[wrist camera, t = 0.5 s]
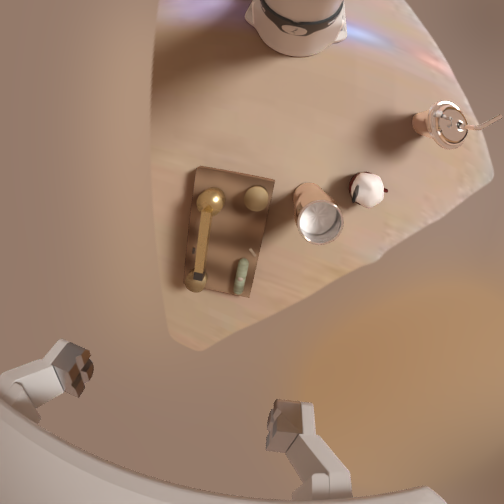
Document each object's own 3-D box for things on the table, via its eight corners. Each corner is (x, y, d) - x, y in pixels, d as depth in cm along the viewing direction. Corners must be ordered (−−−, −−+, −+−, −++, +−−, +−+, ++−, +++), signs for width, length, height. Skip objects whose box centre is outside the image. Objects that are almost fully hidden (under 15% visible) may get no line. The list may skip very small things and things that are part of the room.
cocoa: (384, 181, 50) (414, 195, 38) (370, 209, 52) (396, 229, 41) (344, 158, 48) (367, 165, 37) (329, 188, 51) (348, 203, 40)
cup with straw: (400, 101, 42) (459, 93, 24) (438, 105, 41) (501, 103, 23) (405, 144, 46) (464, 156, 27) (441, 145, 44) (505, 159, 26)
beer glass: (285, 209, 53) (288, 237, 39) (297, 174, 50) (306, 191, 37) (319, 220, 54) (333, 252, 40) (332, 187, 51) (352, 208, 37)
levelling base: (200, 165, 51) (191, 170, 46) (274, 179, 51) (274, 185, 46) (187, 276, 61) (179, 290, 55) (250, 290, 61) (247, 305, 55)
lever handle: (203, 184, 49) (195, 191, 44) (227, 189, 49) (222, 195, 44) (193, 264, 56) (186, 277, 51) (214, 269, 56) (209, 283, 51)
